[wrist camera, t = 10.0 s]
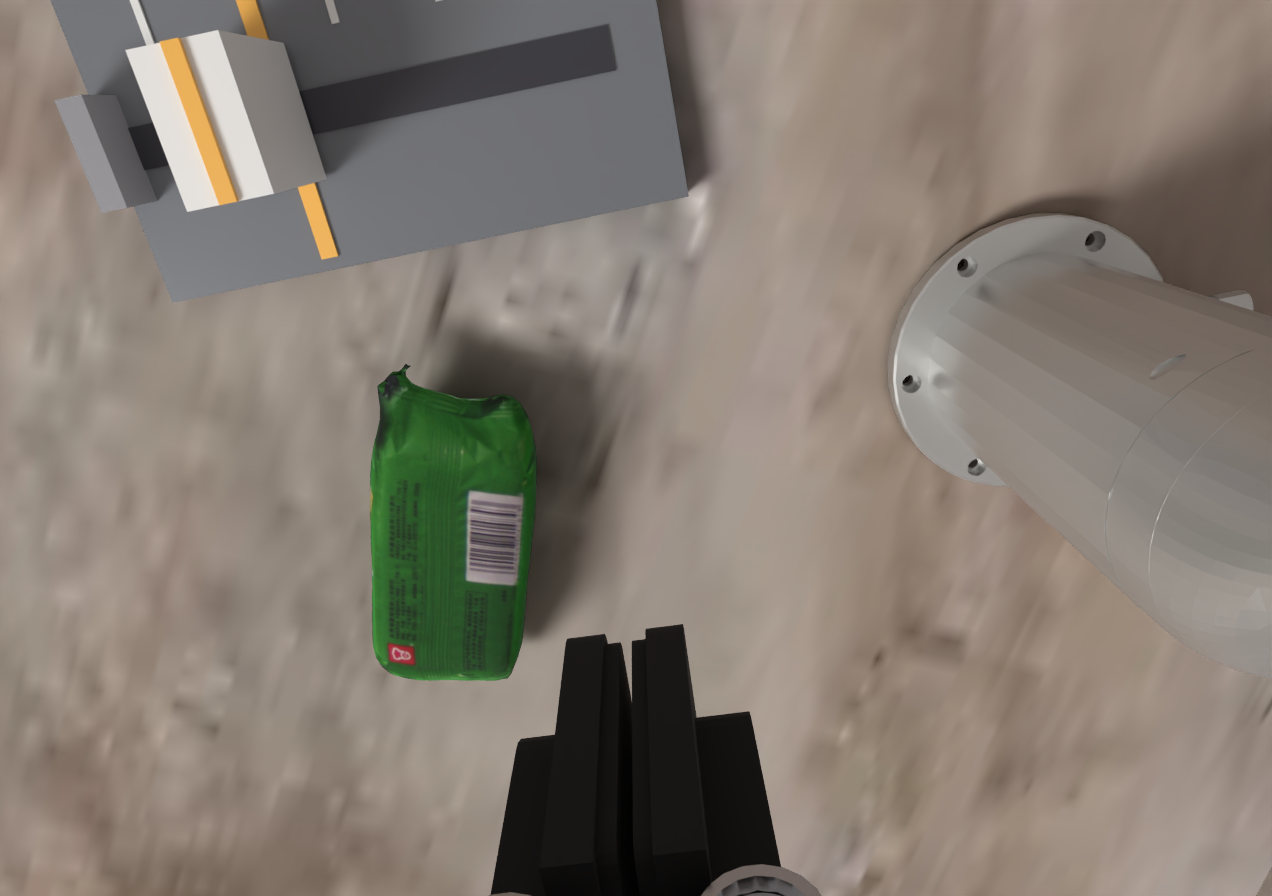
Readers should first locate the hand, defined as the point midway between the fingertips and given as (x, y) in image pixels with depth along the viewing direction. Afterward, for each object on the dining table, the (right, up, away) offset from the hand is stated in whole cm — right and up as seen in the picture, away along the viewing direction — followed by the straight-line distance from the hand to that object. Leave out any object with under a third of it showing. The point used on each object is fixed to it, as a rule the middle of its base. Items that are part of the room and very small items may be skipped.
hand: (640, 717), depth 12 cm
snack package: (-8, +1, +30) cm, 31 cm away
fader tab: (-14, +16, +21) cm, 30 cm away
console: (-10, +18, +22) cm, 30 cm away
